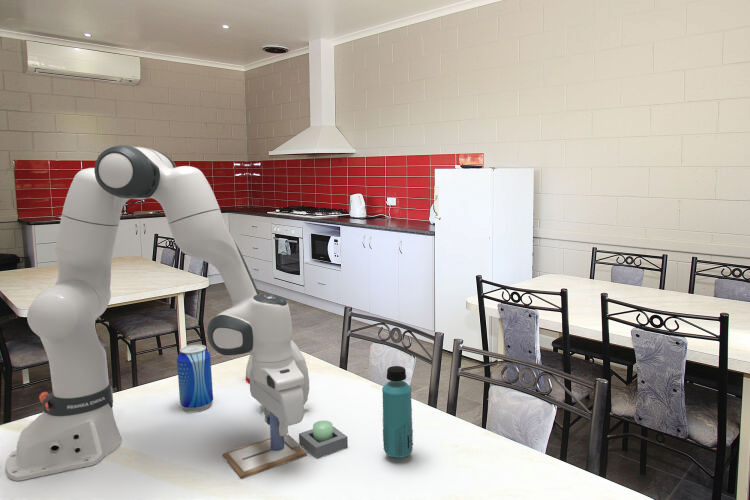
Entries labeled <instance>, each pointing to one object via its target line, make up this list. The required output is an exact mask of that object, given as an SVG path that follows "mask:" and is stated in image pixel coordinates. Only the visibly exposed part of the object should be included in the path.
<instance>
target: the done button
mask: <svg viewBox="0 0 750 500" xmlns="http://www.w3.org/2000/svg"><path fill="white" fill-rule="evenodd" d="M333 427H334V426H333V423H332V421H329V420H319V421H316V422H314V423H313V425H312V429H313V439H315V440H316V441H317V442H318V443H320V442H323V441H326V440H328V439H331V438H333Z"/></svg>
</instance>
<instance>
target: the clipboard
mask: <svg viewBox="0 0 750 500" xmlns="http://www.w3.org/2000/svg"><path fill="white" fill-rule="evenodd" d="M307 452H308V451H306V450H304V449H303V447H302V446H301V445H300V444H299V442H298V441H297V440H295V439H294V438H293V437H292V436H291V435H290V434H287V435H284V449H282V450H279V451H273V450H271V443H270V437H268V438H266V439H263V440H260V441H257V442H253V443H249V444H247V445H245V446H241V447H239V448H236V449H235V448H234V449H232V450H230V451H229V450H228V451H226V452H223V453H221V454H222V456H221V457H223V458H224V460H225V461H226V462H227V464H229V466H230V467H231V468H232V469H233V471H234V472H235V473H236V474H237V475H238V477H239V478H240V479H244V478H245V479H246V478H248V477H250V476H253V475H255V474H256V475H257V474H258V473H261V472H264V471H267V470H270V469H273V468H275V467H278V466H281V465H283V464H287V463H290V462H293V461H294V460H297V459H300V458H303V457H307V456H308V453H307Z"/></svg>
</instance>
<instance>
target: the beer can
mask: <svg viewBox="0 0 750 500" xmlns="http://www.w3.org/2000/svg"><path fill="white" fill-rule="evenodd" d="M211 360H212V359H211V353H210V351H208V350H207V346H206V345H204V344H191V345H185V346H183V347H181V348H180V349H179V354H178V356H177V358H176V365H177V366H176V367H177V381H178V391H179V392H178V393H179V403H180V404H179V405H180V407H182V408H183V410H184V411H186V412H193V413H194V412H199V411H200V412H201V411H203V410H206V409H208V408H209V407H210V406H211V403H213V401H214V393H213V392H214V391H213V377H212V361H211Z"/></svg>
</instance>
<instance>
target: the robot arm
mask: <svg viewBox="0 0 750 500" xmlns="http://www.w3.org/2000/svg"><path fill="white" fill-rule="evenodd" d="M131 199H132V200H147V199H153V200H155V201H157V203H159V204H160V206H161V208H162V209H163V213H164V215H165V218H166V221H167V224H168V226H169V229H170V233H171V235H172V237H173V238H172V239H173V240H174V242H175V244H176V245H177V247H178V249H180V251H181V252H182V253H183V254H185V255H186V256H188V257H190V258H192V259H193V258H194V259H196V260H200V261H203V262H205V263H208V264H210V265H211V266H212V267H214V268H215V270H216V271H218V272H219V274H220V277H221V278H222V280H223V283H224V286H225V288H226V290H227V292H228V294H229V296H230V299H231V302H232V307H230V308H227V309H226V310H223V311H221V312H220V313H218V314H217V315H215V316H214V317H213V318H212V319H210V320H209V323H208V325H207V329H206V337H207V340H208V343H209V344H210V346H211V348H212V349H213V350H214V351H216V352H217V353H218V354H220V355H223V356H237V355H244V354H248V353H249V355H250V354H251V355H252V368H251V371H250V384H249V392H250V395H251V397H252V398H254V399H255V400H256V401H257V402H258V403H259V404H260V405H261V409H262V412H263V413H262V414H263V416H264V422H265V423H266V424H267V425H269V426H270V412H271V413H272V414H274V415H275V416H276V417H277V418H278V421H279V422H280V423H279V426H277V430H278V431H277V432H278V434H279V435H280V436H284V435H289V434H288V433H289V426H293V425H296V424H298V423H302V421H303V419H304V416H305V415H304V412H305V409H304V406H305V405H304V399H303V390H302V387H301V386H300V385H302V384H304V376H303V374H302V373H301V371H300V370H299V369H298V367H297V365H296V363H295V361H294V360H293V350H292V348H291V340H292V339H293V338H292V337H293V326H292V317H291V310H290V306H289V303H288V302H287V300H286V299H285V298H284V297H282V296H281V295H278V294H272V293H260V292H259V290H258V288H257V285H256V284H255V281H254V279H253V276H252V274H251V272H250V270H249V267H248V265H247V262H246V260H245V259H244V257H243V254H242V252H241V249H240V248H239V246H238V245H237V243H236V241H235V239H233V237H232V234H231V233H230V231H229V228H228V226H227V224H226V222H225V219H224V217H223V214H222V212H221V211H222V210H221V208H220V205H219V204H218V201H217V199H216V196H215V193H214V191H213V189H212V186H211V184H210V183H209V181H208V180H207V178H206V176H205V175H204V173H203V171H201V170H200V169H199V168H198V167H194V166H190V165H182V166H177V165H176V164H175V162H174V160H173V159H172V158H171V157H169V156H168V155H166V154H165V153H163V152H161V151H158V150H154V149H152V148H148V147H145V146H144V147H143V146H132V145H125V144H124V145H123V144H119V145H115V146H111V147H108V148H106V149H105V150H103V151H102V152H101V153H100V154H99V155H98V157H97V158H96V161H95V164H94V167H88V168H84V169H81V170H80V171H78V172H77V173H76V174H75V175H74V177H73V180H72V182H71V183H70V186H69V189H68V191H67V194H66V197H65V200H64V203H63V207H62V212H61V217H60V221H59V222H60V223H59V227H58V231H57V237H56V241H55V246H54V251H55V254H56V256H57V265H58V266H57V270H58V271H57V272H58V273H57V274H58V275H57V279H56V282H55V284H54V285H53V286H52V285H51V286H49V288H46V289H45V290H43V291H41V292H40V293H39V294H38V295H37V296H36V298H35V299H34V300H33V301H32V302H31V303H30V305H29V307H28V310H27V314H26V319H27V324H28V326H29V328H30V329H31V331H32V332H33V333H34V334H36V335H37V336H38V337H39V338H40V341H41V343H42V345H43V348H44V351H45V353H46V356H47V360H48V364H49V370H50V371H49V372H50V380H51V387H52V392H51V393H49V391H43V392H41V393H40V395H39V397H38V398H39V402H40V403H42V408H43V412H42V413H41V414H39V415H38V416H37V417H36V418H35V419H34V420H33V421H32V422H30V423H29V424H28V425H27V426H26V427H24V428H23V429H22V431H21V433H20V434H19V436H18V440H17V445H16V449H15V450H13V451H12V452H11V453H10V454H9V455H8V456H7V458H6V461H5V473H6V476H7V477H8V478H9V479H10V480H14V481H17V482H18V481H24V480H25V481H26V480H29V479H33V478H38V477H39V478H40V477H43V476H47V475H54V474H57V473H62V472H67V471H70V470H76V469H80V468H81V469H82V468H85V467H90V466H95V465H97V464H99V463H100V462H101V461H102V459H104V458H105V456H107V455H108V454H110V453H112V452H114V451H115V450H116V449H117V448H118V447H119V446H120V445H121V443H122V442H123V437H122V434H120V431H119V428H118V426H117V423H116V417H115V414H114V409H113V407H114V395H113V394H114V393H113V387H112V384H111V382H110V381H109V373H108V372H109V371H108V360H107V352H106V351H107V350H106V349H105V348H104V347H103V345H102V344H101V342H100V339H99V336H98V334H97V330H96V329H97V328H96V320H97V319H98V318H99V317H101V316H102V315H103V314H104V313H105V311H106V310H107V308H108V306H109V304H110V301H111V299H112V298H111V297H112V291H111V279H112V260H113V259H112V258H113V253H114V249H115V244H116V238H117V235H118V229H119V224H120V220H121V214H122V211H123V209H124V208H123V207H124V206H125V204H126V203H127V202H128V201H129V200H131Z"/></svg>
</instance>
